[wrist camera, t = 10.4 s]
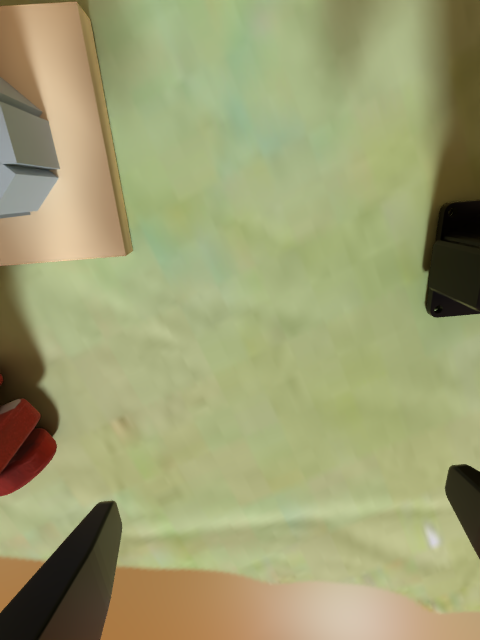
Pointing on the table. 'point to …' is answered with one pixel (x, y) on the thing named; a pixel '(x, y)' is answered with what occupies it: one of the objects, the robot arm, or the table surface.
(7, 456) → the toy fire truck
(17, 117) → the ring
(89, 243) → the pegboard
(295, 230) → the table surface
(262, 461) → the table surface
